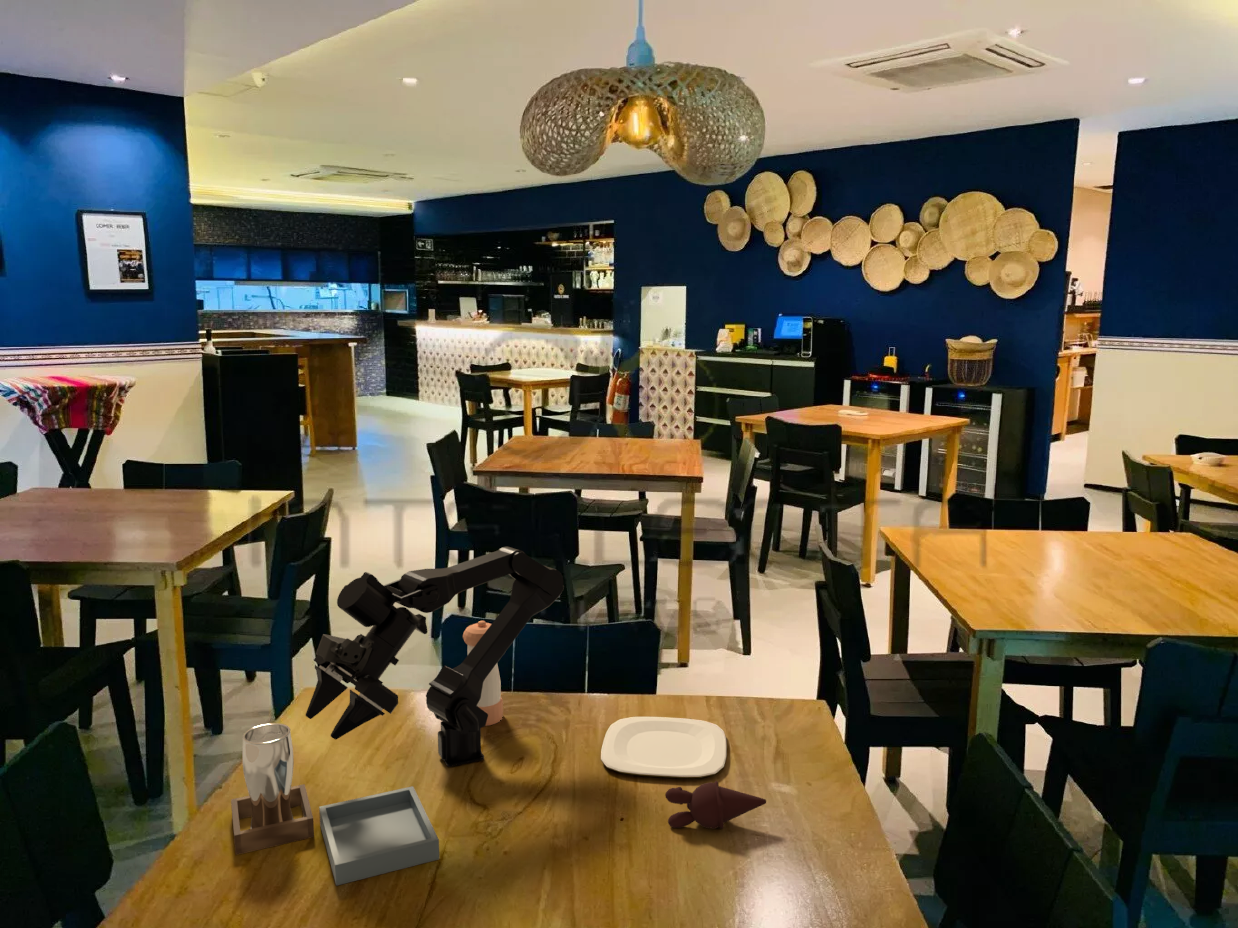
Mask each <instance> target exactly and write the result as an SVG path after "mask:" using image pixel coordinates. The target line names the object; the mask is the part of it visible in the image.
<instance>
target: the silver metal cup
mask: <svg viewBox="0 0 1238 928" xmlns="http://www.w3.org/2000/svg"><path fill="white" fill-rule="evenodd" d="M241 752H242V770H243V777H244V780H245V781H244V782H245V784H246V789H247V791H248V796H250V800H251V805H252V816H251V822H250V828H249V829H253V828H257V827H262V826H266V825H271V824H275V823H280V822H284V821H289V820H293V819H295V818H294V815H293V812H292V808H291V807H290V791H291V787H292V783H293V782H292V781H293V775H294V747H293V740H292V734H291V728H290V726H289V725H286V724H284V723H278V722H272V723H271V722H270V723H263V724H260V725H256V726H253V727H251V728H249V729H248V730H246V731H245V732H244V733H243V734H242V751H241Z"/></svg>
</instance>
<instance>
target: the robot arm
mask: <svg viewBox="0 0 1238 928" xmlns="http://www.w3.org/2000/svg"><path fill="white" fill-rule="evenodd" d="M505 576H510V577H511V578H512V579H514V581H513V583H512V586H511V591H510V592H511V593H510V599H509V601H508V602H507V603H506V604H505V606H504V607H503V608H502V610H501V611H500V613H499V614H497V616H496V618H495V619H494V620H493V622H492V623H490V624H491V625H490V627H489V628H488V629H487V631H486V632H485V633H484V635H483V636H482V637H481V639H480V640H479V641H478V642H477V644H476V645H475V646H474V648H473V649H472V650H471V652H470V653H469V654H468V653H467V656H465V658H464V659H463V661H462V662H461V663H460V664H459V665H457V666H455V667H453V668H451V667H449V666H447V665H443V667H441V669H440V671H439V672H438V673H437V675H436V677H435V678H434V679H433V680H432V681H430V682H429V683H428V685H429V686H430V687H429V688H428V690H427V692H426V694H425V699H426V701H425V702H426V707H427V709H428V710H429V711H430V712H432V714H433V715H434V716H435V717H434V718H435V719H437V720H440V730H439V731H437V746H438V747H437V751H438V752H437V753H438V755H439V756H440V758H441V760H442V761H443V762H444V763H445V765H446V767H448V768H451V767H455V766H459V765H460V766H461V765H465V764H470V763H475V762H479V761H484V760H485V755H484V754H483V752H482V735H481V734H482V733H481V729H482V728H484V727H486V726H485V725H486V722H487V718H488V714H487V713H486V712H484V711H483V710H482V709H480V708H479V707H478V706H477V704H478V702H479V701H480V698H481V693H482V687H483V682H484V680H485V678H486V677H487V676H488V674H489V673H490V672H491V670H492V669H493V668H494V666H495V665H496V664H498V662H499V661H500V660H501V658H502V657H503V656H504V655H505V653H506V651H507V650H508V649H509V648H510V646H511V645H512V644H513V642H514V641H515V640H516V638H517V637H518V636H519V634H520V633H521V631H522V630H523V629H524V628H525V627H526V625H527V624H528V623H529V621H530V620H531V618H532V617H533V616H535V615H537V614H538V613H540V612H542V611H544V610H546V609H547V608H549V607H550V606H551V605H552V604H553V603H554V602H555V601H556V600H558V598H559V597H560V596H561V594H562V593H563V591H564V589H565V586H564V577H563V574H562V572H561V571H560V570H558V569H555V568H552V567H549V566H547V565H544V564H542V563H540V562H539V561H536V560H535V559H533V558H532V557H530V556H529V555H527V553H525V552H524V551H523V550H520V549H516V548H513V547H510V546H503V547H501V548H499V549H498V550H496V551H495V550H494V551H493V552H489V553H486V554H483V555H480V556H477V557H474V558H472V559H469V560H465V561H463V562H460V563H457V564H454V565H452V566H449V567H444V568H443V567H442V568H424V569H416V570H409V571H407V572H405V573H403V574H402V575H401V576H400V578H399V579H396V580H395V581H392V582H389V583H385V584H382V582H380V580H379V579H378V578H377V577H376V576H374V575H373V574H371V573H370V572H367V571H365V572H363V574H362V575H361V576H360V577H357V578H355V579H353V580H352V581H350V582H349V583H347V584H346V585H344V587H343V588H342V589H341V591H340V592H339V594H338V596H337V599H336V604H337V606H338V608H339V609H340V610H342V611H343V612H344V613H345V614H347V615H348V616H350V617H351V618H352V619H354V620H355V621H357V622H358V623H359V624H360V625H361V626H363V627H365V628H370V629H369V630H368V632H367V633H366V635H364V634H363V633H360V634H357V636H356V637H355V638H354V639H353V640H351V639H350V638H348V637H347V638H343V637H338V636H334V635H329V634H324V633H323V634H322V636H321V639H320V641H319V644H318V647H317V649H316V653H315V654H316V656H315V657H314V659H313V661H314V662H315V663H316V664H318V665H319V666H318V665H316V664H315V665H314V669H315V671H316V676H317V678H316V679H317V682H316V685H315V689H314V691H313V693H312V695H311V699H310V702H309V704H308V707H307V709H306V712H305V717H306V718H307V719H310V720H312V719H314V717H316V716H317V715H318V714H320V713H321V712H322V711H323V710H324V709H326V708H327V706H329V705H330V704H331V703H332V702H334V700H335V699H337V698H339V697H340V695H341V694H342V693H344V692H345V691H346V690H347V689H348V686H347V685H345V684H349V683H351V684H352V685H354V690H355V691H356V692H358V693H359V694H357V693H356V692H355V691H353V690H352V689H349V703H348V705H347V707H346V708H345V710H344V712H343V713H342V715H341V716H340V718H339V720H338V721H337V723H336V725H335V726H334V728H333V730H332V731H331V733H330V737H331V738H332V739H333V740H339V738H341V737H343V736H345V735H346V734H349V732H352V731H353V730H355V729H356V728H358V727H360V726H362V725H363V724H366V723H367V722H369V721H371V720H373V719H375V718H377V717H379V716H382V717H383V716H384V715H385V714H386V713H385V712H387V713H388V714H392V713H393V712H394V711H395V709H396V707H397V706H398V704H399V695H398V694H397V693H395V692H394V691H392V690H391V689H390V688H388V687H387V686H386V685H384V684H383V683H384V682H383V681H382V680H380V678H381V677H382V675H383V674H384V673H385V671H386V670H387V668H388V667H389V666H390V665H391V664H392V665H393V666H397V664H398V663H399V661H400V660H399V659H398V658H397V655H398V654H399V652H400V651H401V649H402V648H403V646H404V645H405V644H406V643H407V641H408V640H409V639H410V637H411V636H412V634H413V633H414V632H415V631H418V632H420V633H421V634H423V635H427V634H428V626H427V617H426V616H424V615H422V614H420V613H417V614H414V613H413V612H412V611H411V610H409V609H415V610H417V611H420V612H422V613H424V614H430V613H433V612H435V611H437V610H438V609H440V608H442V607H443V606H446V605H447V604H449V603H450V602H451V601H452V600H453V599H454V597H455V596H456V595H458V594H460V593H462V592H465V591H467V590H470V589H472V588H475V587H478V586H481V585H483V584H487V583H489V582H493V581H495V580H496V579H499V578H503V577H505ZM395 604H398V605H400V607H396V606H395ZM342 681H343V682H344V683H345V684H344V683H342ZM383 710H384V711H385V712H384V711H383Z"/></svg>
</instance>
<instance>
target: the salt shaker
mask: <svg viewBox="0 0 1238 928" xmlns="http://www.w3.org/2000/svg"><path fill="white" fill-rule="evenodd" d="M491 624H492V623H489V622H486V621H485V620H480V621H478V622H476V623H472V624H470V625H468V626H467V627H466V628H465V630H464V631H463V634H462V639H463V641H464V643H465V644H466V645H467V655H468V654H469V653H470V652H471V650H472V649H473V648H474V646H475V645H476V644H477V642H478V641H479V640H480V639H481V637H482V636H483V635H484V633H485V632H486V631H487V629H488V628H489V627H490V625H491ZM501 682H502V681H501V677H500V671H499V666H498V663H497V664H496V665H495V666H494V668H493V669H492V670H491V672H490V673H489V674H488V676H487V677H486V678H485V680H484V682H483V687H482V693H481V698H480V701H479V702H478V704H477V706H478V707H479V708H480V709H482V710H483V711H484V712H486V713H487V714H488V718H487V722H486V725H485V726H484V727H486V726H491V725H495V724H497V723H499V722H501V721H502V720H503V718H502V717H504V702H503V701H504V700H503V698H502V696H501V693H502V689H501V687H502V685H501ZM500 720H501V721H500Z"/></svg>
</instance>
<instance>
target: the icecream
mask: <svg viewBox="0 0 1238 928" xmlns="http://www.w3.org/2000/svg"><path fill="white" fill-rule="evenodd" d="M664 796H665V798H666V800H667V801H668V802H669V803H672V804H676V805H683V804H684V805H685V804H686V808H687V809H688V810H689V811H687V810H684V811H679V812H675V813H673V814H672V815H670V816H669V817H668V819H667V823H668V825H669V827H671V828H673V829H681V828H684V827H686V826H689V825H690V824H692V823H694V822H696V824H698V825H699V826H701V827H703V828H706V829H717V828H719V829H723V828H724V827H725V826H724V824H725V823H727V822H729V821H731V820H733V819H736V818H737V817H740V816H742V815H744V814H746V813H749V812H751V811H752V810H755V809H756V808H757V809H758V808H760V807H762V806H764V805H765V804H767V800H766V799H765V798H762V797H759V796H755V795H752V794H749V793H745V792H742V791H737V790H734V789H731V788H728V787H723V786H720V785H719V781H717V780H715V781H714V782H711V781H710V782H707V783H702V784H700V785H699V786H696V788H695V789H694V791H692V792H691V791H689V790H686V789H683V788H682V787H681V786H678V787H677V786H676V787H670V788H669V789H667V790H666V792H665V795H664Z"/></svg>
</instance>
